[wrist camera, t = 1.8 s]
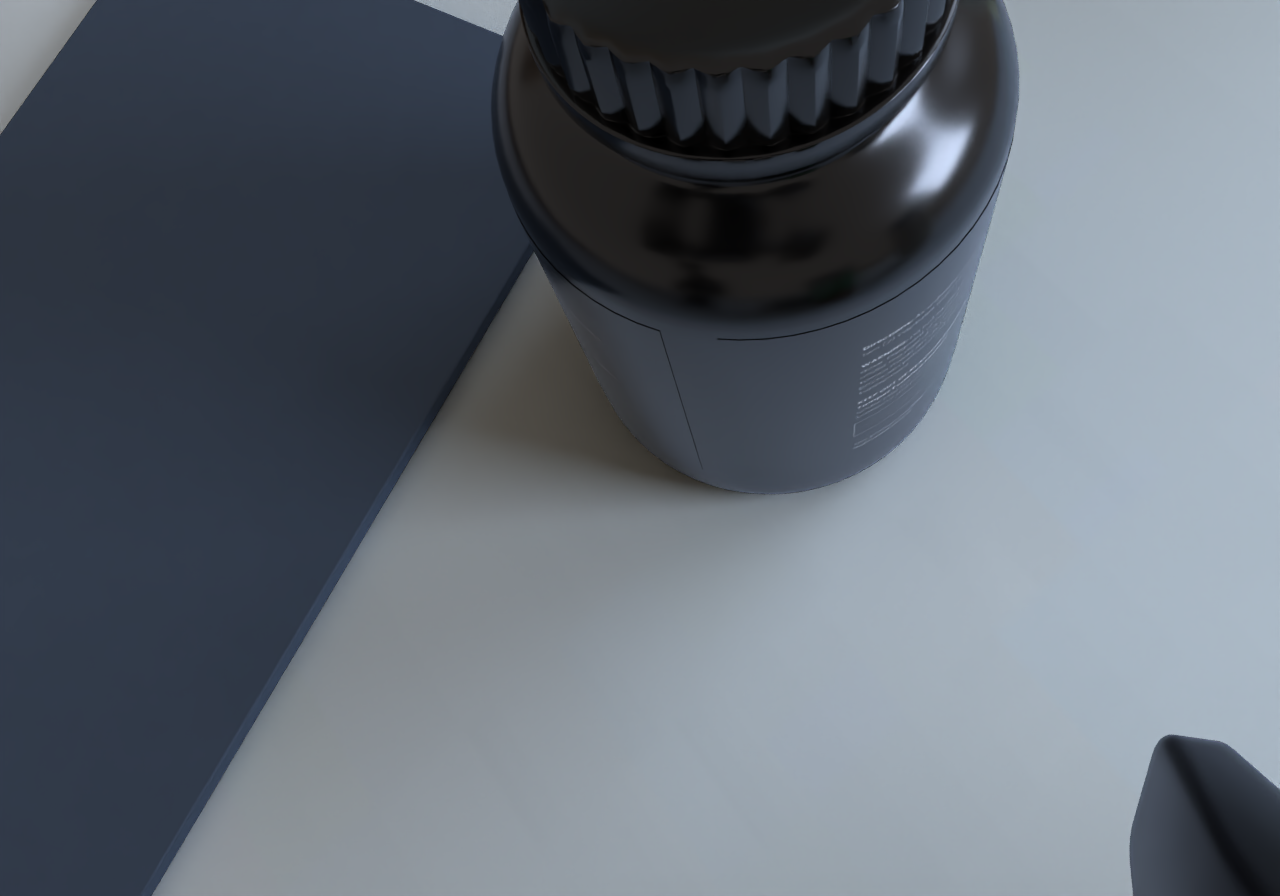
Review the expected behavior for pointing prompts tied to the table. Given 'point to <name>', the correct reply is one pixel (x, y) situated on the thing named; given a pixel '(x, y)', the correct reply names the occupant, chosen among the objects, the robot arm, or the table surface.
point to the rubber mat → (213, 380)
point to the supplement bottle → (759, 212)
